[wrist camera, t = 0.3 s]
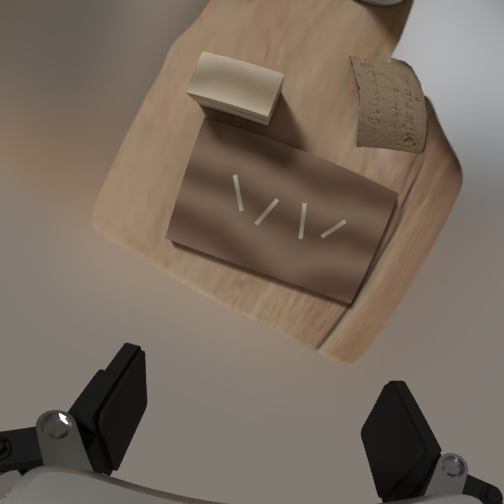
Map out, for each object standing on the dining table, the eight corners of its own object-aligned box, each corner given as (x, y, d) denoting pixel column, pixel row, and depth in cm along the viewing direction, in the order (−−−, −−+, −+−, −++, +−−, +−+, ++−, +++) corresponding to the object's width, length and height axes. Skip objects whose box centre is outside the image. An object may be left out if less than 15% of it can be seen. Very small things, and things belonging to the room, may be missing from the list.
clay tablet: (345, 53, 33) (350, 46, 30) (411, 62, 32) (419, 57, 29) (354, 155, 36) (360, 154, 34) (421, 159, 36) (430, 159, 33)
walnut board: (207, 119, 35) (204, 117, 34) (394, 192, 37) (398, 193, 35) (168, 235, 40) (165, 238, 38) (347, 299, 41) (350, 303, 39)
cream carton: (214, 71, 34) (202, 51, 27) (280, 91, 34) (284, 74, 27) (200, 105, 35) (185, 92, 28) (267, 126, 36) (268, 116, 28)
